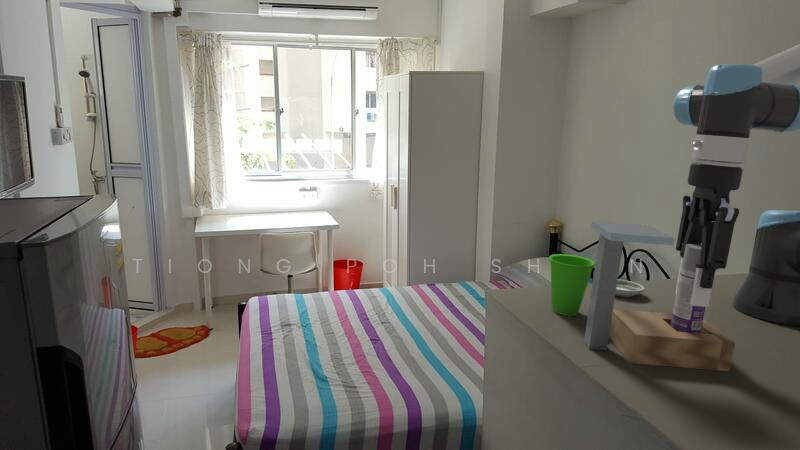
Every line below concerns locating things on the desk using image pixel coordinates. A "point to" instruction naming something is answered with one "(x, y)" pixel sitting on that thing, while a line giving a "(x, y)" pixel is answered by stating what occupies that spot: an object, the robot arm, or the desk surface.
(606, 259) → the grey flat-topped post
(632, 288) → the saucer
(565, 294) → the cup
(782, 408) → the desk surface
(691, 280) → the container
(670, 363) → the socket block
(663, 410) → the desk surface
